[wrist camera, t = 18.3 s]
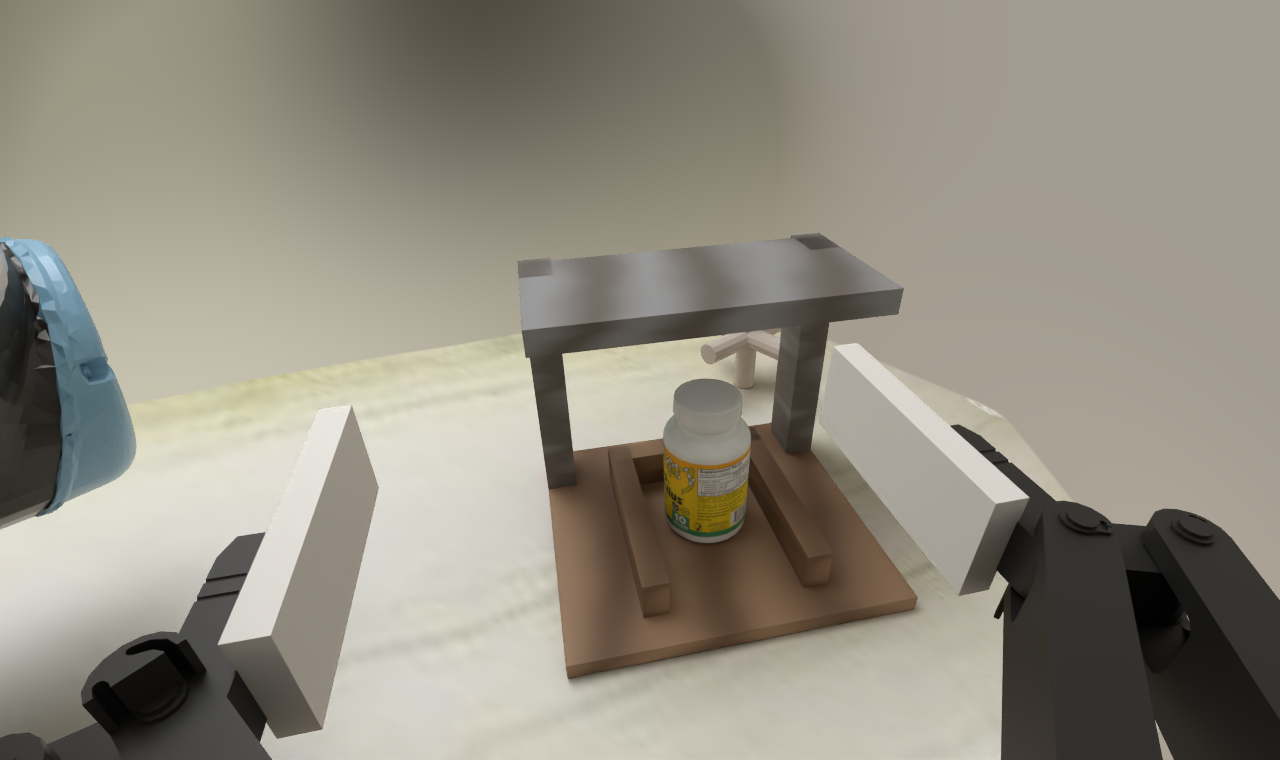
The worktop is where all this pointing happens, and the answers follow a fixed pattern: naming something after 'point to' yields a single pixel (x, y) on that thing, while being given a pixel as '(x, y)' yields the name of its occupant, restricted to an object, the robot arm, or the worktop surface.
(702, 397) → the supplement bottle
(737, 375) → the pipe connector
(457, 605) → the worktop surface
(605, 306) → the keeper holder
